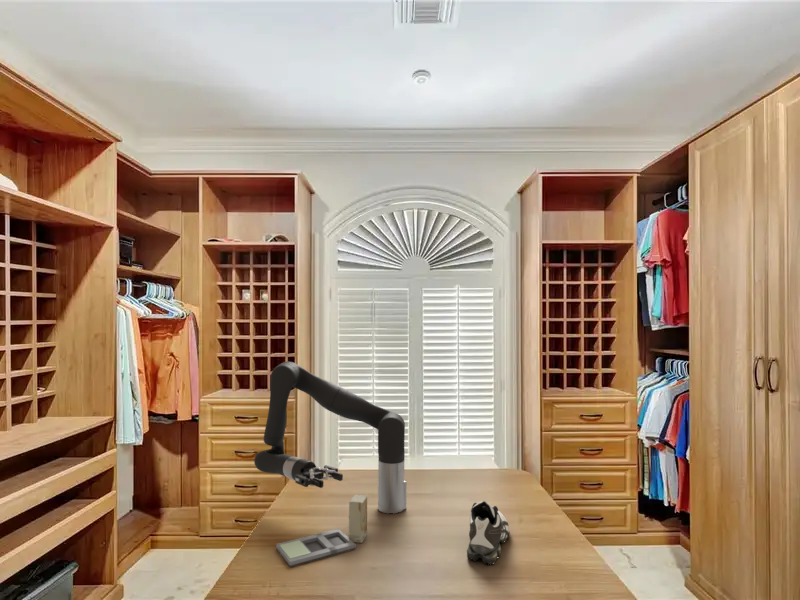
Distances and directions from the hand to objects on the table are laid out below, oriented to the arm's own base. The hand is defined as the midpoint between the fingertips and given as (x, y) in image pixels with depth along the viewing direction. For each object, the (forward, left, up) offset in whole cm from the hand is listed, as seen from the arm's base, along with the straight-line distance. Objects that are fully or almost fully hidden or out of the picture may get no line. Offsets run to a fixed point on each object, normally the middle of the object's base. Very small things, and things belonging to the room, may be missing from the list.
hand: (332, 481), depth 162 cm
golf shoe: (-37, +33, -16) cm, 52 cm away
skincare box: (-4, +10, -15) cm, 19 cm away
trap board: (+10, +10, -15) cm, 21 cm away
